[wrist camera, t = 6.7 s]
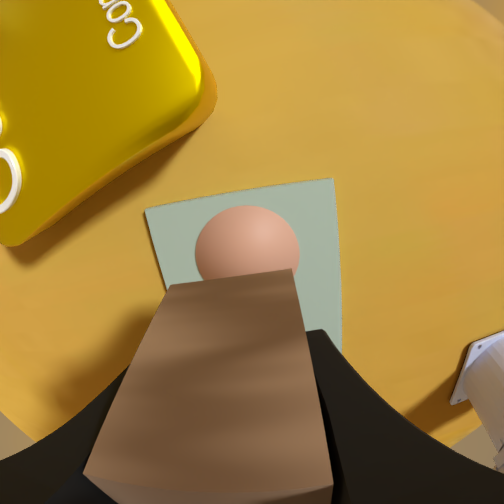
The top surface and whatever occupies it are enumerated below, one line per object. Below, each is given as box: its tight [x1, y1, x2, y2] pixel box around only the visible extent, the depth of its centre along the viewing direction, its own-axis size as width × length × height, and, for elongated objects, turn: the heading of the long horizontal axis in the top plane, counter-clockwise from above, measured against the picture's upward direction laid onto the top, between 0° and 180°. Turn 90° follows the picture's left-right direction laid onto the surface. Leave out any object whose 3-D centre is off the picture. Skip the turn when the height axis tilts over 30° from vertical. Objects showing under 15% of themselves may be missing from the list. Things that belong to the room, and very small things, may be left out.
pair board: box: [145, 178, 342, 354], centre depth 18 cm, size 10×14×1 cm
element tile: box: [0, 0, 217, 247], centre depth 11 cm, size 15×15×5 cm
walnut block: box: [83, 268, 333, 504], centre depth 7 cm, size 4×4×7 cm
